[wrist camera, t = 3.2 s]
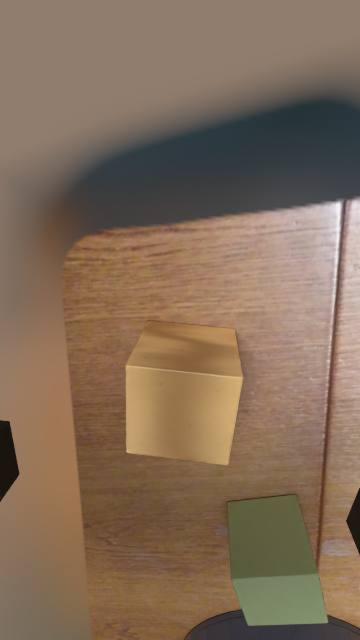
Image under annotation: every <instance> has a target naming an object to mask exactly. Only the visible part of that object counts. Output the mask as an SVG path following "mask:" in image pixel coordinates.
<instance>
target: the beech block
mask: <svg viewBox="0 0 360 640" xmlns="http://www.w3.org/2000/svg"><path fill="white" fill-rule="evenodd" d="M242 383H243V374H242V368H241V362H240V356H239V351H238V345H237V339H236V333H235V329H230V328H220V327H210V326H200V325H190V324H179V323H169V322H159V321H147V323H146V325H145V327H144V329H143V331H142V334H141V336H140V338H139V340H138V342H137V344H136V346H135V348H134V350H133V352H132V354H131V356H130V358H129V360H128V362H127V364H126V453H133V454H141V455H149V456H157V457H165V458H173V459H181V460H189V461H197V462H205V463H213V464H221V465H228V463H229V458H230V452H231V446H232V440H233V435H234V429H235V423H236V417H237V412H238V406H239V400H240V394H241V389H242Z"/></svg>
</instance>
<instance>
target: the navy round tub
mask: <svg viewBox="0 0 360 640" xmlns="http://www.w3.org/2000/svg"><path fill="white" fill-rule="evenodd" d="M327 618H328V623H317V624H286V625H254V626H249V625H248V624H247V621H246V619H245V616H244V613H243V610H240V611H234V612H229V613H226V614H222V615H219V616H216V617H214V618H211V619H209V620H207V621H205V622H203V623H201V624H199V625H198V626H197V627H195V628H194V629H193V630H192V631H191V632H190V633H189V634H188V635H187V636H186V638H185V640H360V629H358V628H357V627H355V626H353V625H350V624H348V623H346V622H344V621H341V620H338V619H336V618H333V617H330V616H327Z"/></svg>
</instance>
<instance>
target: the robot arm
mask: <svg viewBox="0 0 360 640" xmlns="http://www.w3.org/2000/svg"><path fill="white" fill-rule="evenodd" d="M18 475H19V470H18V465H17V460H16V454H15V448H14V443H13V438H12V432H11V427H10V422H9V421H1V420H0V501H1V500H2V498H3V497H4V496H5V494H6V493H7V491H8V490H9V488H10V487H11V486H12V484H13V483H14V481H15V480H16V478H17V477H18ZM346 522H347V525H348V527H349V529H350V532H351V534H352V537H353V539H354V542H355V544H356V547H357V549H358V552H359V554H360V488H359V491H358V493H357V495H356V498H355V500H354V503H353V505H352V508H351V510H350V513H349V515H348V517H347V520H346Z"/></svg>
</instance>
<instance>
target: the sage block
mask: <svg viewBox="0 0 360 640" xmlns="http://www.w3.org/2000/svg"><path fill="white" fill-rule="evenodd" d="M227 509H228V529H229V548H230V568H231V580H232V583H233V586H234V589H235V591H236V594H237V597H238V599H239V602H240V605H241V608H242V610H243V613H244V616H245V619H246V621H247V624H248V625H249V626H254V625H286V624H317V623H328V618H327V613H326V608H325V603H324V598H323V593H322V588H321V583H320V578H319V573H318V570H317V566H316V563H315V559H314V555H313V552H312V548H311V545H310V541H309V538H308V534H307V531H306V527H305V523H304V520H303V516H302V513H301V509H300V506H299V502H298V499H297V495H286V496H277V497H268V498H259V499H250V500H241V501H232V502H227Z"/></svg>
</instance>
